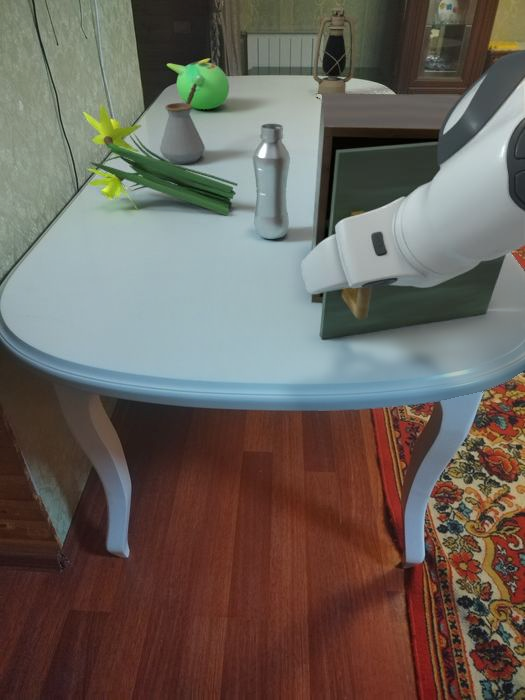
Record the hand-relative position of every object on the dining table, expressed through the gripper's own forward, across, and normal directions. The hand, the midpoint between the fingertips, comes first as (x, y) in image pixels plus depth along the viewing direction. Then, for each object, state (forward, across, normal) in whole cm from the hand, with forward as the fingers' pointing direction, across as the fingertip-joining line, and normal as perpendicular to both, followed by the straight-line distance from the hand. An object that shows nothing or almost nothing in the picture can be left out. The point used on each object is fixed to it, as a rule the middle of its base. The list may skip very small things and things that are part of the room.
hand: (365, 277), depth 62 cm
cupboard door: (+9, -10, +8) cm, 16 cm away
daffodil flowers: (+52, +15, -34) cm, 63 cm away
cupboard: (+21, -15, -3) cm, 26 cm away
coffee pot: (+73, +3, -55) cm, 92 cm away
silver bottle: (+36, -2, -18) cm, 40 cm away
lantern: (+106, -60, -88) cm, 150 cm away
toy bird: (+104, -12, -86) cm, 136 cm away
